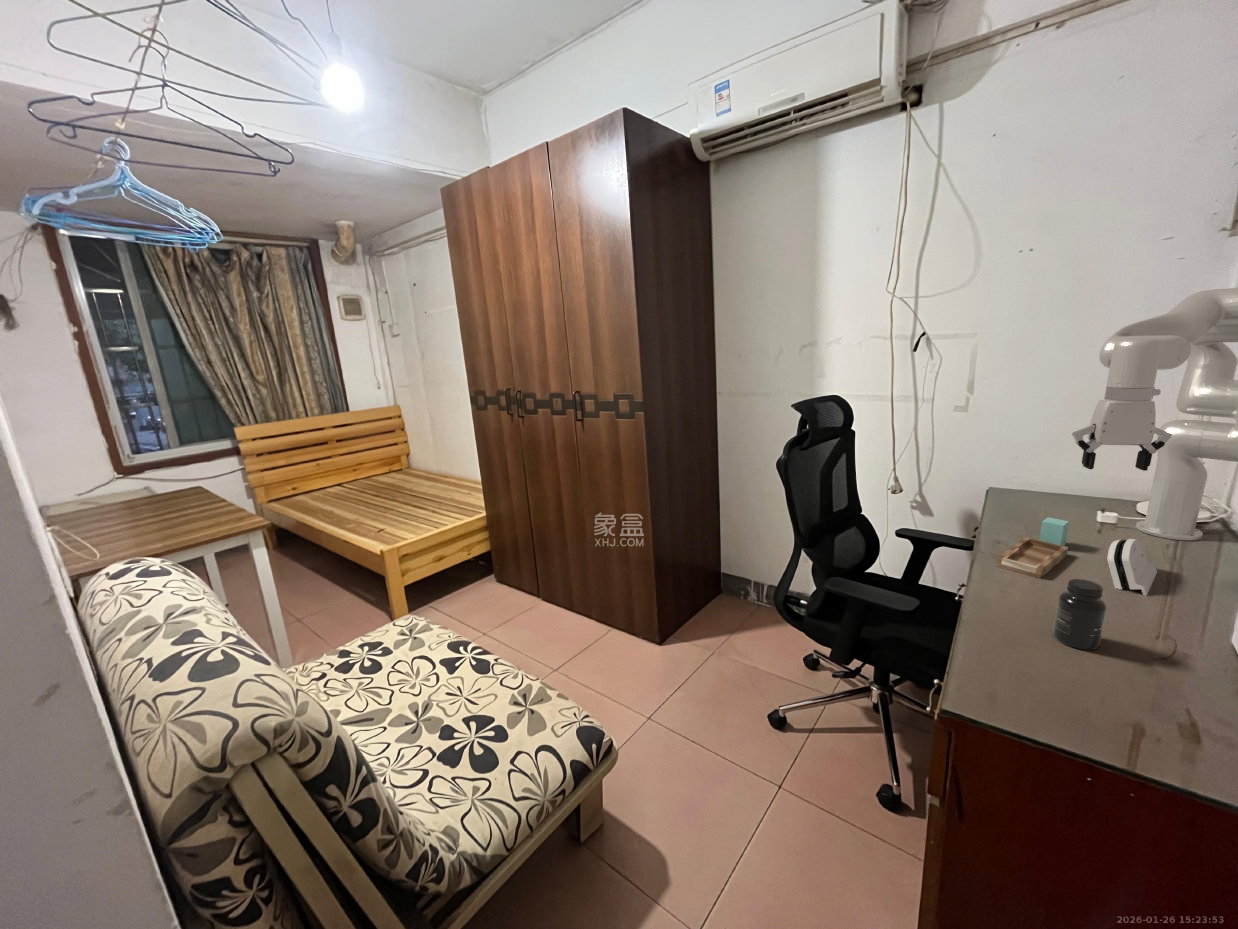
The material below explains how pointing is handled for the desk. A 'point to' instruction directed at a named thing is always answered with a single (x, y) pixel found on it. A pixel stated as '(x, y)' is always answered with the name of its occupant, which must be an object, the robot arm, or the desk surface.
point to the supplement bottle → (1080, 615)
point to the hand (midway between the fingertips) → (1114, 468)
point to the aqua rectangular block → (1054, 531)
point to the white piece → (1130, 565)
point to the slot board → (1032, 557)
